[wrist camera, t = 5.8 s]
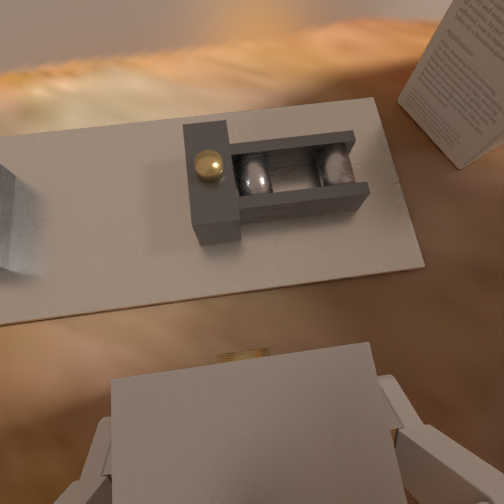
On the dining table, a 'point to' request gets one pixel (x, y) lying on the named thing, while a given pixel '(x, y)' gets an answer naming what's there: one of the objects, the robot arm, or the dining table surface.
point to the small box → (461, 82)
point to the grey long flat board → (198, 209)
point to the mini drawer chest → (256, 432)
